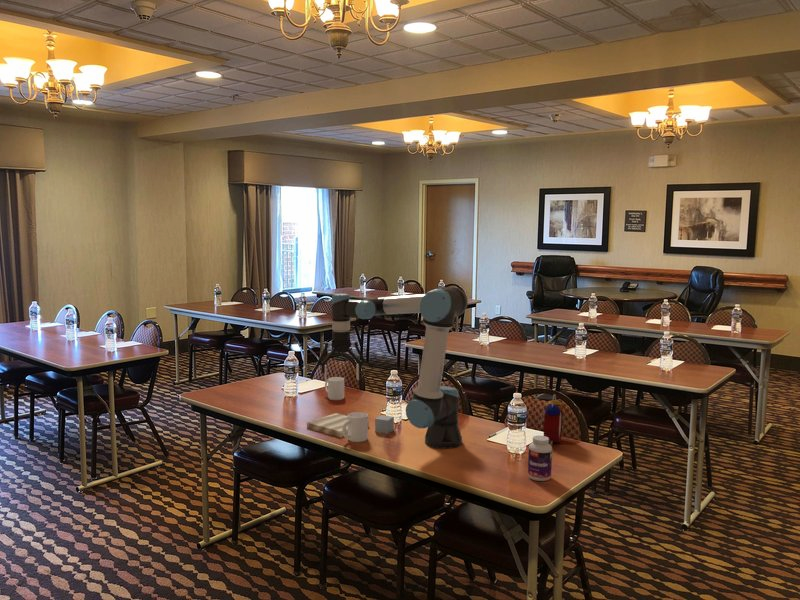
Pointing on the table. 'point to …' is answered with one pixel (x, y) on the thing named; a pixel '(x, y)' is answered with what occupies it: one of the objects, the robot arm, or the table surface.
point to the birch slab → (330, 424)
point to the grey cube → (384, 424)
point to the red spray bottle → (553, 421)
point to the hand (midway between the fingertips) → (341, 380)
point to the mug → (356, 427)
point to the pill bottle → (540, 459)
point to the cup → (335, 388)
